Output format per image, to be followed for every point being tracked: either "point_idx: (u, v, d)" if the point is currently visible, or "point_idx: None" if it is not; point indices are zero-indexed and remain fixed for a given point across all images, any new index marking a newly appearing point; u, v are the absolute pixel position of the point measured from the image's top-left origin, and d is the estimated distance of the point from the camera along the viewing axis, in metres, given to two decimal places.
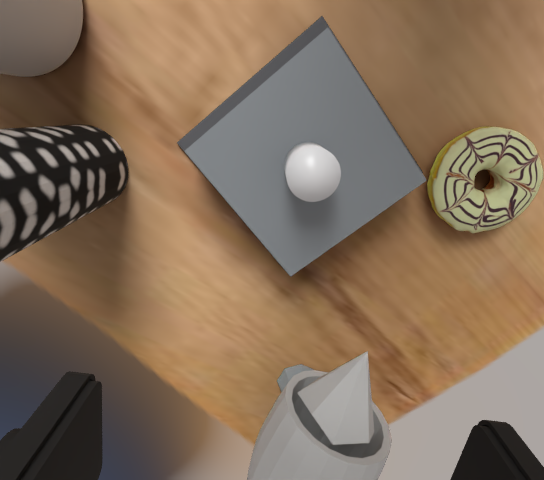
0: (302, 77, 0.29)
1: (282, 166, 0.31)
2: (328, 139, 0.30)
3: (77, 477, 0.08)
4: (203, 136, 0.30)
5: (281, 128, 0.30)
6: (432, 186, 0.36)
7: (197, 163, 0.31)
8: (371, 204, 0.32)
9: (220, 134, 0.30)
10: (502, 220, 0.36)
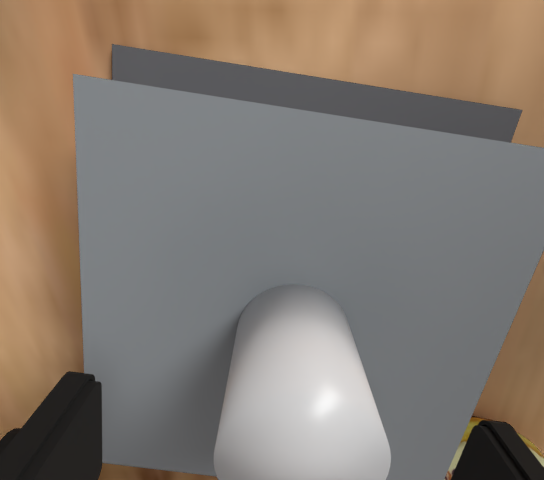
0: (448, 191, 0.11)
1: (250, 296, 0.12)
2: (371, 329, 0.13)
3: (77, 477, 0.08)
4: (147, 90, 0.10)
5: (317, 234, 0.12)
6: None
7: (81, 129, 0.11)
8: None
9: (188, 124, 0.10)
10: None
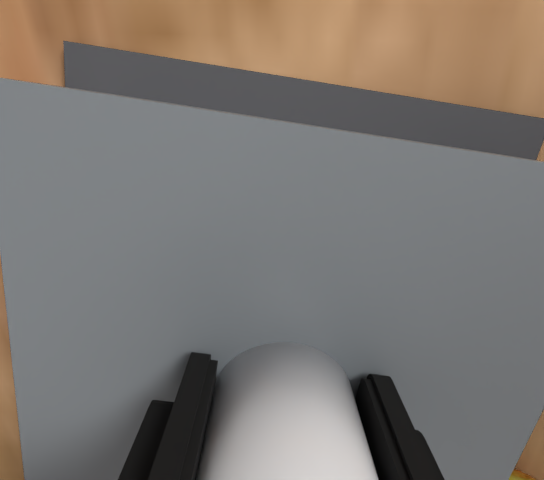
0: (481, 226, 0.09)
1: (227, 357, 0.10)
2: None
3: None
4: (83, 96, 0.08)
5: (311, 280, 0.09)
6: None
7: None
8: None
9: (141, 142, 0.08)
10: None
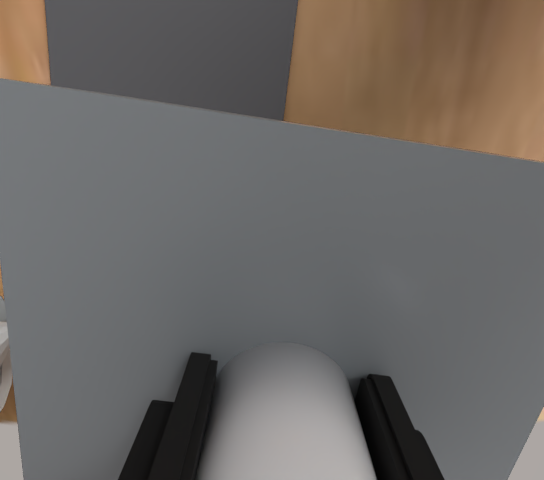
0: (480, 227, 0.09)
1: (226, 357, 0.10)
2: None
3: None
4: (82, 97, 0.08)
5: (310, 281, 0.09)
6: None
7: None
8: None
9: (140, 142, 0.08)
10: None
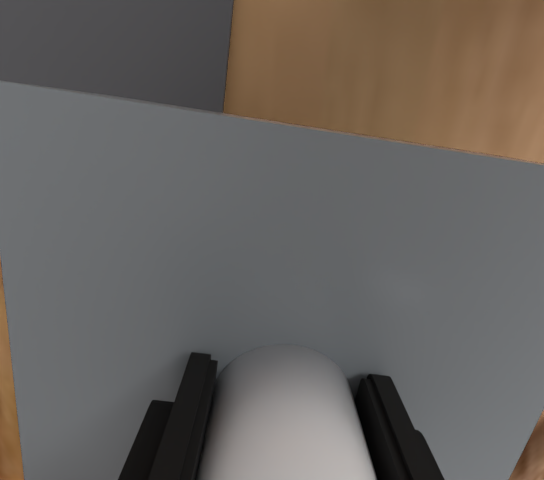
0: (480, 229, 0.09)
1: (227, 359, 0.10)
2: None
3: None
4: (83, 99, 0.08)
5: (311, 283, 0.09)
6: None
7: None
8: None
9: (141, 145, 0.08)
10: None
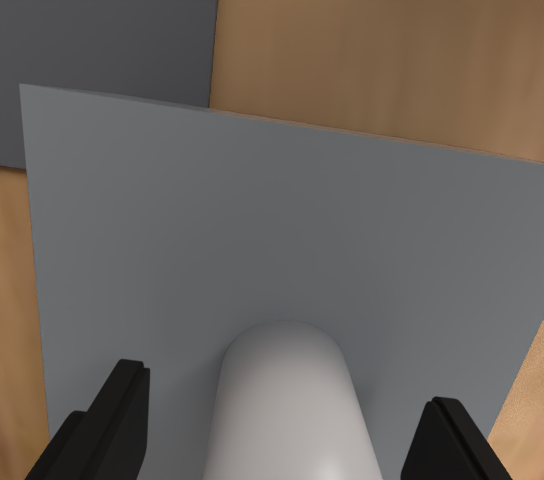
0: (458, 216, 0.10)
1: (235, 334, 0.11)
2: (371, 366, 0.11)
3: (131, 455, 0.08)
4: (109, 102, 0.09)
5: (309, 264, 0.10)
6: None
7: (32, 148, 0.09)
8: None
9: (160, 142, 0.09)
10: None
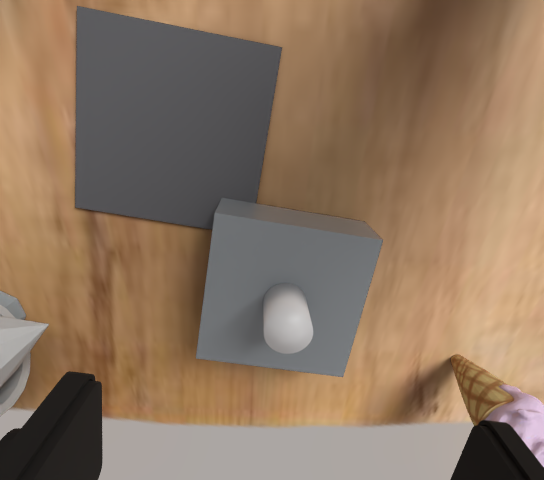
0: (339, 251, 0.32)
1: (269, 287, 0.33)
2: (314, 300, 0.33)
3: (77, 477, 0.08)
4: (238, 218, 0.31)
5: (294, 265, 0.32)
6: None
7: (214, 229, 0.31)
8: (297, 361, 0.36)
9: (251, 228, 0.31)
10: None
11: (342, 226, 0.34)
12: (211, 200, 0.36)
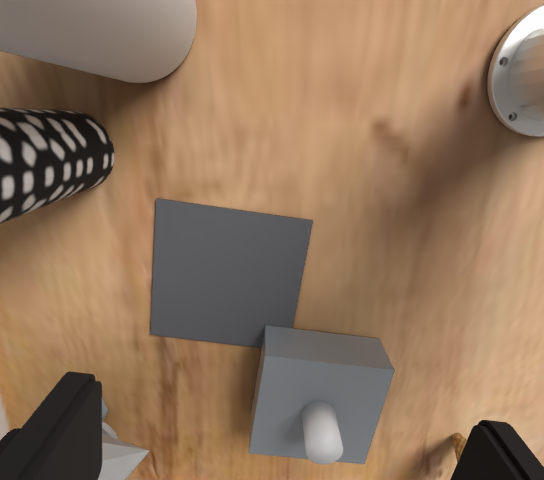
0: (360, 378, 0.41)
1: (306, 403, 0.43)
2: (341, 411, 0.43)
3: (77, 477, 0.08)
4: (283, 358, 0.40)
5: (325, 388, 0.42)
6: None
7: (265, 366, 0.41)
8: None
9: (293, 365, 0.41)
10: None
11: (362, 353, 0.43)
12: (256, 327, 0.46)
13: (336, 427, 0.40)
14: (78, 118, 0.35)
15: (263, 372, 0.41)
